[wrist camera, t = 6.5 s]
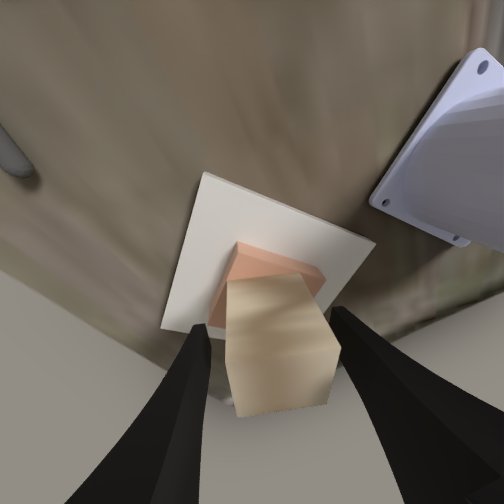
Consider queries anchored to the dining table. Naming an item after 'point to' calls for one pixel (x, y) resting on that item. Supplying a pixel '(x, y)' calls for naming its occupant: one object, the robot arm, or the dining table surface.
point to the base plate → (259, 229)
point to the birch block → (277, 345)
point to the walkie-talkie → (13, 157)
